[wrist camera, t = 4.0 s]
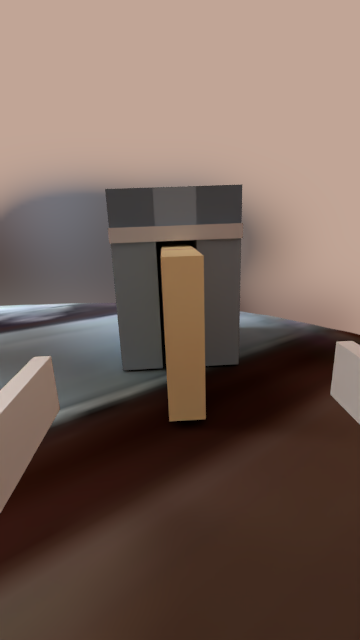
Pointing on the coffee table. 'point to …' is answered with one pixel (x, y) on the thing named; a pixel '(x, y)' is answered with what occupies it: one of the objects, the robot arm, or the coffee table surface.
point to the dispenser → (145, 265)
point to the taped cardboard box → (184, 330)
